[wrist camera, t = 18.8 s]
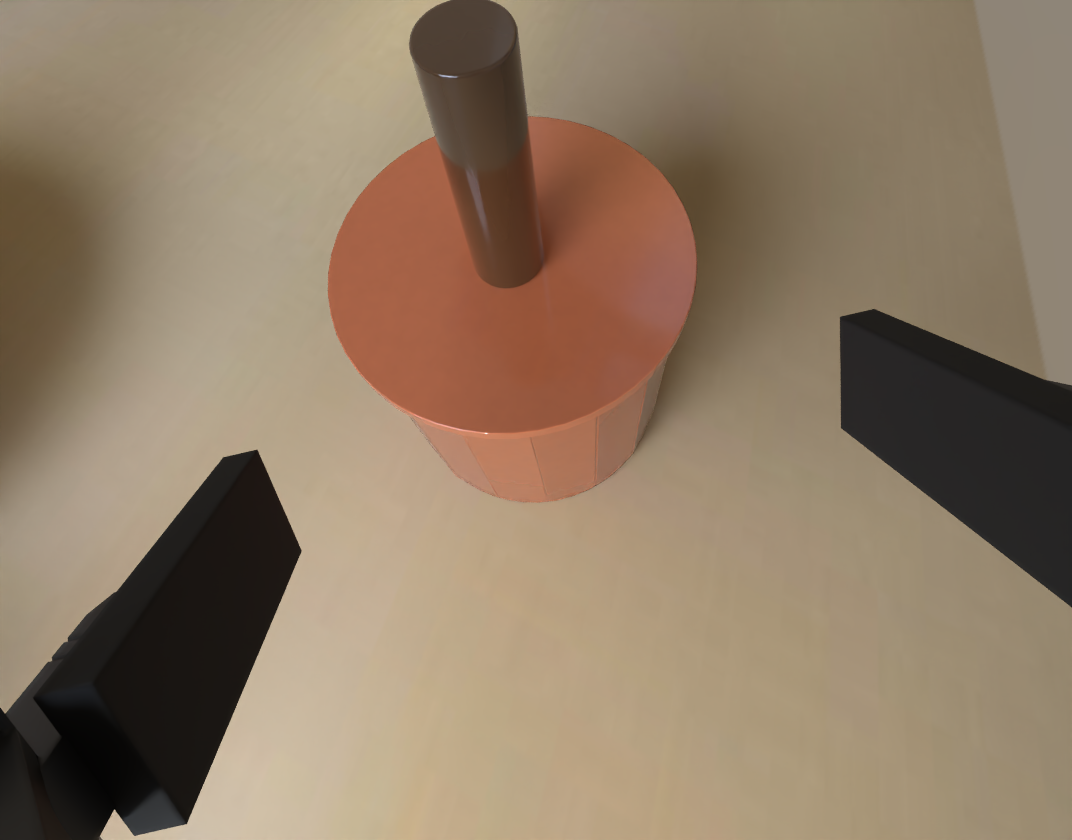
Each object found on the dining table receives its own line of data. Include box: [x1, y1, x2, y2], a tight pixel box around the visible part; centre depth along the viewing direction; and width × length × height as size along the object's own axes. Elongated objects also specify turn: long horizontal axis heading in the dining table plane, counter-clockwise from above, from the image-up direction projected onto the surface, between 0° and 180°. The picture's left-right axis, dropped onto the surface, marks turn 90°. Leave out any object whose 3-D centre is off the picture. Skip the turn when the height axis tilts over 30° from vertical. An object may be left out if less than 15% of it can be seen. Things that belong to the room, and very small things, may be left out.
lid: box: [328, 0, 697, 439], centre depth 20 cm, size 14×14×10 cm
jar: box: [408, 358, 667, 502], centre depth 29 cm, size 13×13×12 cm
